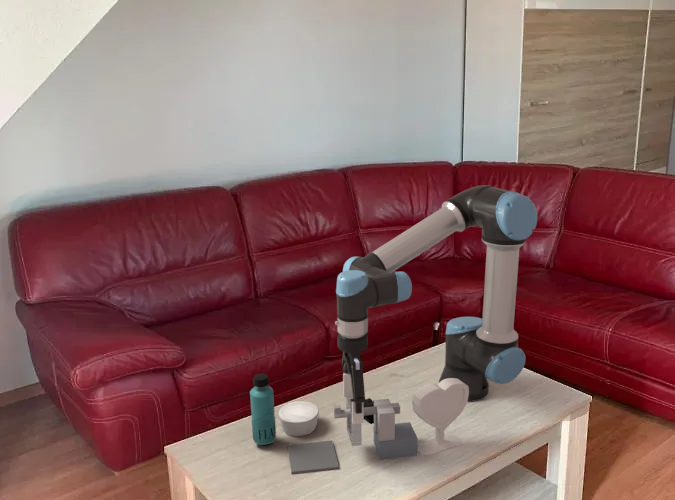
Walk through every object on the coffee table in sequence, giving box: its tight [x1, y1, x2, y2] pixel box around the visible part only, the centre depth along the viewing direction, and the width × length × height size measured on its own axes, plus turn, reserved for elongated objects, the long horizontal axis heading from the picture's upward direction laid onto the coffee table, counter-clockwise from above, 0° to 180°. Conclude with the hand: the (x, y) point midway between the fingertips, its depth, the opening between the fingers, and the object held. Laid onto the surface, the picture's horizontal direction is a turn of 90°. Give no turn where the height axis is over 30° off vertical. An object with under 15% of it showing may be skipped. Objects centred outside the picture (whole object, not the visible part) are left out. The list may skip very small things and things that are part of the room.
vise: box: [333, 398, 419, 460], centre depth 175 cm, size 21×8×14 cm, turn 99°
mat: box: [287, 440, 340, 475], centre depth 174 cm, size 12×12×1 cm
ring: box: [345, 395, 363, 447], centre depth 173 cm, size 2×8×10 cm, turn 9°
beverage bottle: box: [249, 373, 277, 446], centre depth 178 cm, size 6×7×20 cm
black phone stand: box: [364, 397, 374, 425], centre depth 194 cm, size 12×7×5 cm, turn 33°
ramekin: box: [278, 400, 320, 437], centre depth 188 cm, size 11×11×5 cm
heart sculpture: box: [411, 378, 469, 456], centre depth 176 cm, size 16×5×18 cm, turn 117°
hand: (353, 409), depth 172 cm, fingers open, 13 cm apart
